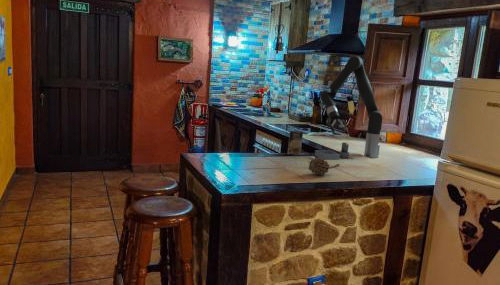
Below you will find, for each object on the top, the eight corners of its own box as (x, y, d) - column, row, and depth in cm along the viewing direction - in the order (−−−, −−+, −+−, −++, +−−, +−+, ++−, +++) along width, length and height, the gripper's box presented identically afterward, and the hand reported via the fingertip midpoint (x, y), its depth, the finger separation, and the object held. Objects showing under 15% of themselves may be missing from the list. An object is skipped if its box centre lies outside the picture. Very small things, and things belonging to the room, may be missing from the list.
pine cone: (314, 178, 229) (316, 160, 227) (303, 173, 237) (305, 156, 235) (343, 174, 241) (345, 158, 239) (331, 170, 249) (333, 154, 247)
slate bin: (329, 157, 289) (330, 150, 288) (339, 161, 277) (339, 154, 276) (314, 157, 285) (315, 150, 285) (323, 161, 273) (323, 154, 273)
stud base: (346, 157, 292) (347, 151, 291) (354, 161, 282) (355, 154, 281) (332, 157, 289) (333, 151, 288) (340, 161, 278) (341, 154, 278)
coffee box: (287, 154, 288) (289, 131, 285) (287, 152, 295) (289, 130, 292) (300, 155, 287) (302, 132, 285) (300, 154, 294) (302, 131, 291)
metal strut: (345, 156, 288) (346, 142, 286) (348, 158, 284) (350, 143, 282) (339, 156, 286) (340, 142, 285) (342, 158, 282) (344, 143, 280)
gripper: (326, 110, 295) (332, 128, 286) (344, 110, 299) (350, 129, 291) (322, 116, 301) (327, 134, 292) (339, 117, 305) (345, 135, 297)
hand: (339, 132), depth 291 cm, fingers open, 8 cm apart
